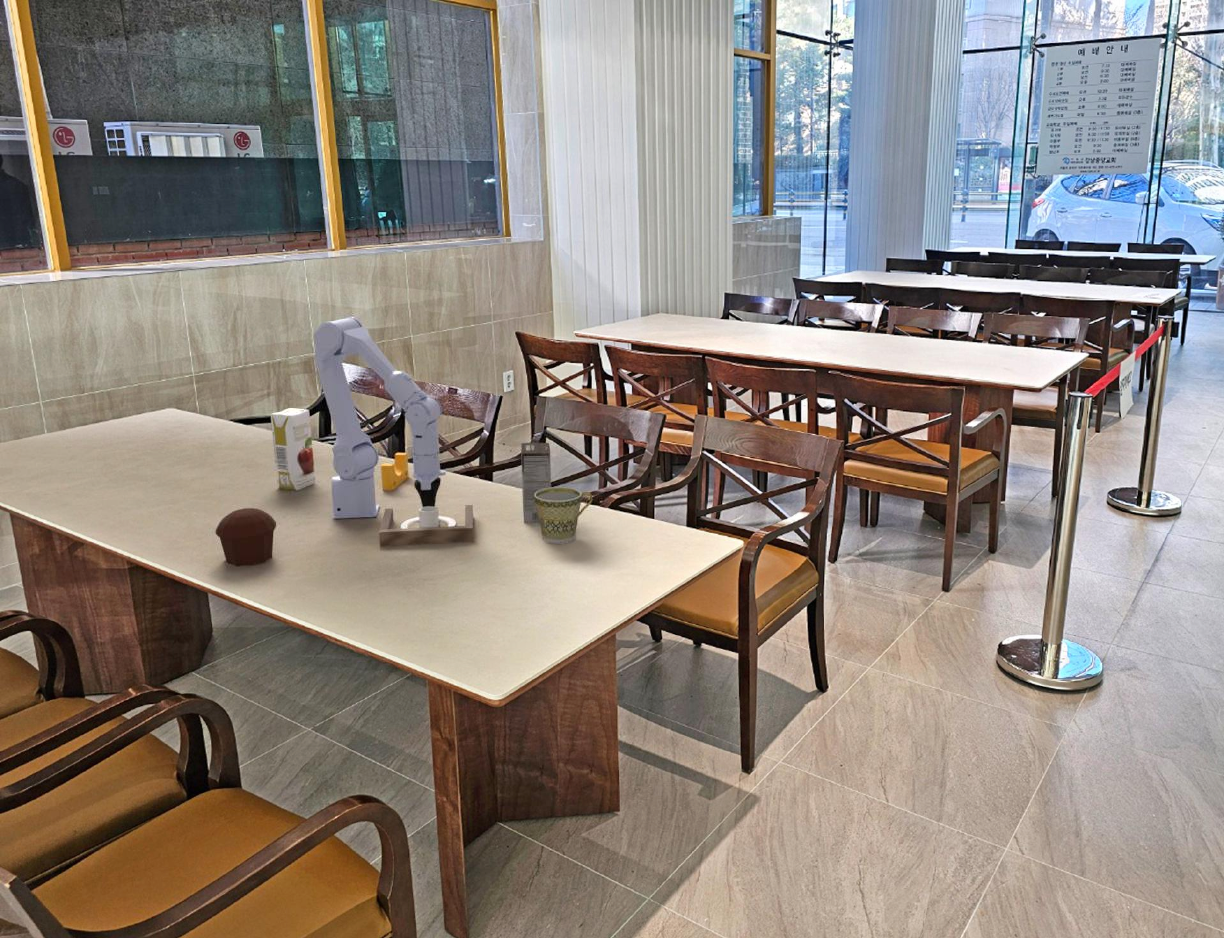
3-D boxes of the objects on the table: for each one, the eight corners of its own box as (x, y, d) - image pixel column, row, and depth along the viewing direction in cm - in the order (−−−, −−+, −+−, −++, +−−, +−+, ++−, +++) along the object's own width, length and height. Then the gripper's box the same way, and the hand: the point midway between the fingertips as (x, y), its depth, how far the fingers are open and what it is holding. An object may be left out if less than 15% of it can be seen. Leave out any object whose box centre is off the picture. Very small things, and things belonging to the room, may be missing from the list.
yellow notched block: (392, 476, 254) (390, 452, 252) (408, 477, 253) (407, 453, 251) (375, 490, 242) (373, 465, 240) (392, 491, 242) (391, 465, 240)
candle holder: (408, 540, 209) (407, 521, 207) (394, 523, 219) (393, 505, 218) (463, 531, 214) (462, 513, 212) (447, 515, 224) (446, 497, 223)
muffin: (243, 573, 190) (237, 524, 187) (206, 562, 196) (200, 514, 193) (291, 554, 200) (287, 507, 197) (255, 544, 205) (250, 498, 202)
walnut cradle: (380, 545, 204) (379, 532, 203) (386, 521, 219) (385, 508, 218) (473, 541, 207) (472, 527, 206) (473, 517, 221) (472, 504, 221)
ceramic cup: (546, 550, 202) (545, 503, 199) (527, 535, 210) (526, 490, 207) (603, 539, 207) (602, 494, 205) (582, 525, 216) (582, 482, 213)
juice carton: (273, 488, 243) (265, 413, 238) (296, 479, 251) (289, 406, 245) (297, 492, 240) (290, 416, 235) (320, 482, 248) (313, 409, 243)
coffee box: (523, 510, 227) (521, 442, 222) (550, 509, 227) (549, 441, 223) (522, 523, 218) (520, 452, 213) (552, 522, 218) (550, 452, 214)
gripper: (443, 460, 209) (446, 521, 212) (445, 443, 222) (448, 500, 226) (409, 462, 208) (413, 522, 211) (413, 444, 221) (417, 502, 225)
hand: (429, 511), depth 219 cm, fingers closed
